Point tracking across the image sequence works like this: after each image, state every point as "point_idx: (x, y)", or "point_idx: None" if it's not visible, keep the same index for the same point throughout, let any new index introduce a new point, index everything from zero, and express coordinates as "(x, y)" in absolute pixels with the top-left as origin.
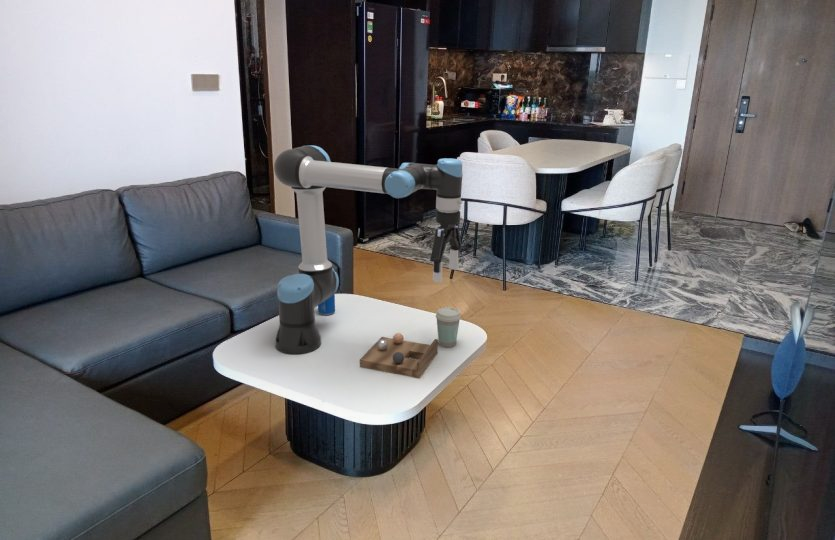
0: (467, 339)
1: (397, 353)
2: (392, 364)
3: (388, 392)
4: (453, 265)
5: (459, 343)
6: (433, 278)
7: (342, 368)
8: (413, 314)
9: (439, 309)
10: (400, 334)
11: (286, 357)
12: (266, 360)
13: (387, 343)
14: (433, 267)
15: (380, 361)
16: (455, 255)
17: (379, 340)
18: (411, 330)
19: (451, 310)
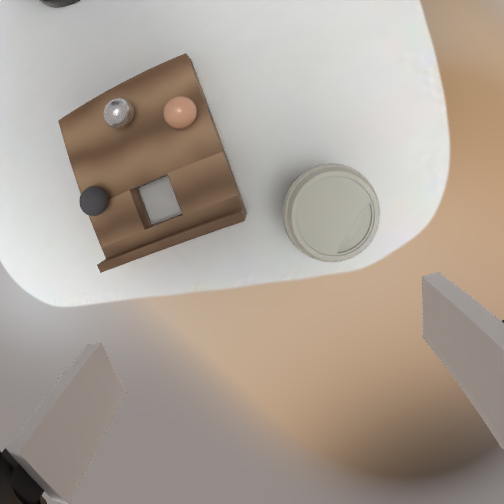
0: None
1: (83, 203)
2: None
3: (45, 246)
4: (438, 328)
5: None
6: (80, 359)
7: (46, 103)
8: (403, 20)
9: (330, 175)
10: (177, 117)
11: (31, 6)
12: (13, 3)
13: (122, 124)
14: (35, 411)
15: (79, 161)
16: (483, 401)
17: (109, 103)
18: (317, 66)
19: (356, 218)
